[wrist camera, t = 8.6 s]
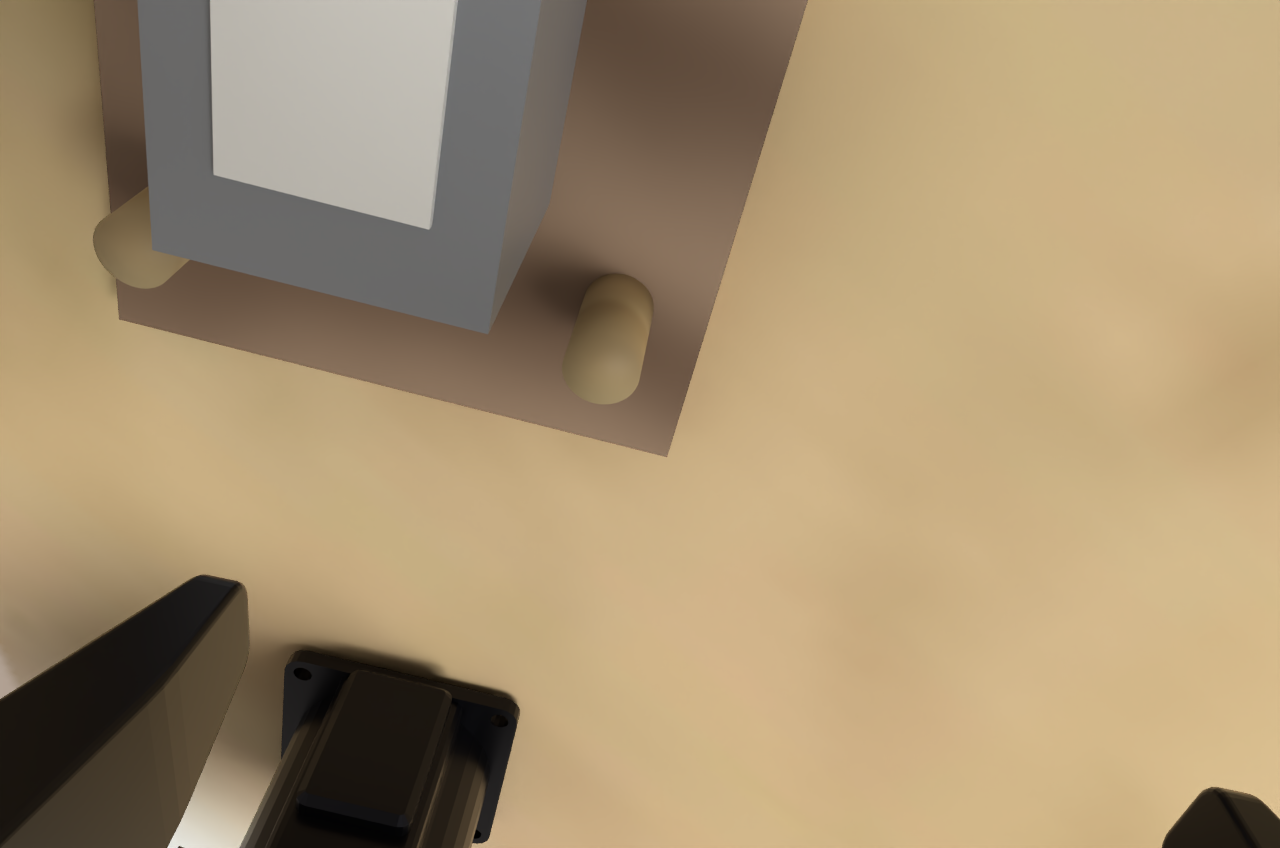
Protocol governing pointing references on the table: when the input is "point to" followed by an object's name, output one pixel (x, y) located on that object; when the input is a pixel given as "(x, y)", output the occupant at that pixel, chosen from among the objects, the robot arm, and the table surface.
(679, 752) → the table surface
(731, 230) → the wooden peg board
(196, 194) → the block
